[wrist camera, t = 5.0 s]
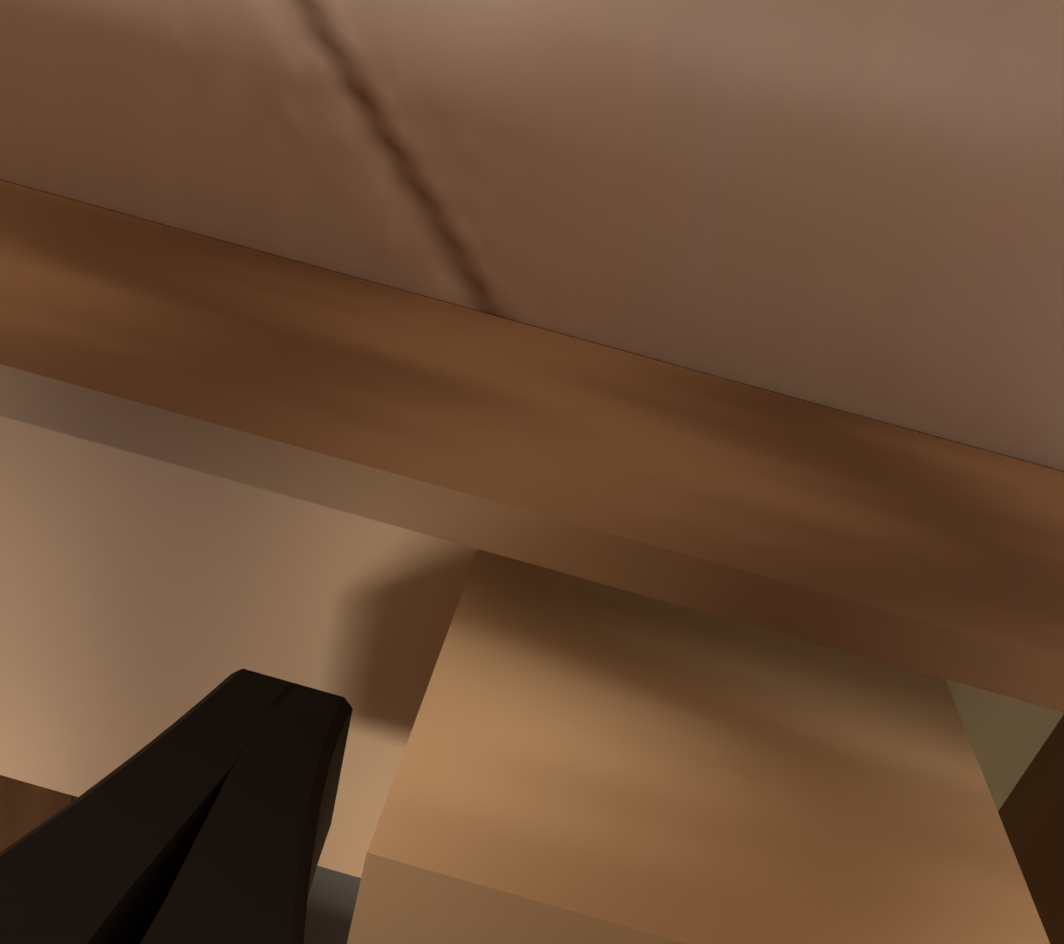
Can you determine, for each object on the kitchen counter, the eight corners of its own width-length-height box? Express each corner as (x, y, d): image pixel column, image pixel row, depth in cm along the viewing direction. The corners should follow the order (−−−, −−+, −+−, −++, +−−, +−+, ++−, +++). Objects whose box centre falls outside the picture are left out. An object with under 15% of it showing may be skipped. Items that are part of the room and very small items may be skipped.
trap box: (-257, 806, 18) (-550, 1058, 14) (-438, 59, 12) (-1093, 92, 8) (715, 1086, 18) (727, 1433, 14) (1074, 474, 12) (1318, 763, 7)
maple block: (402, 858, 12) (287, 1213, 9) (480, 543, 10) (367, 852, 6) (774, 964, 12) (814, 1367, 8) (942, 673, 10) (1095, 1059, 6)
